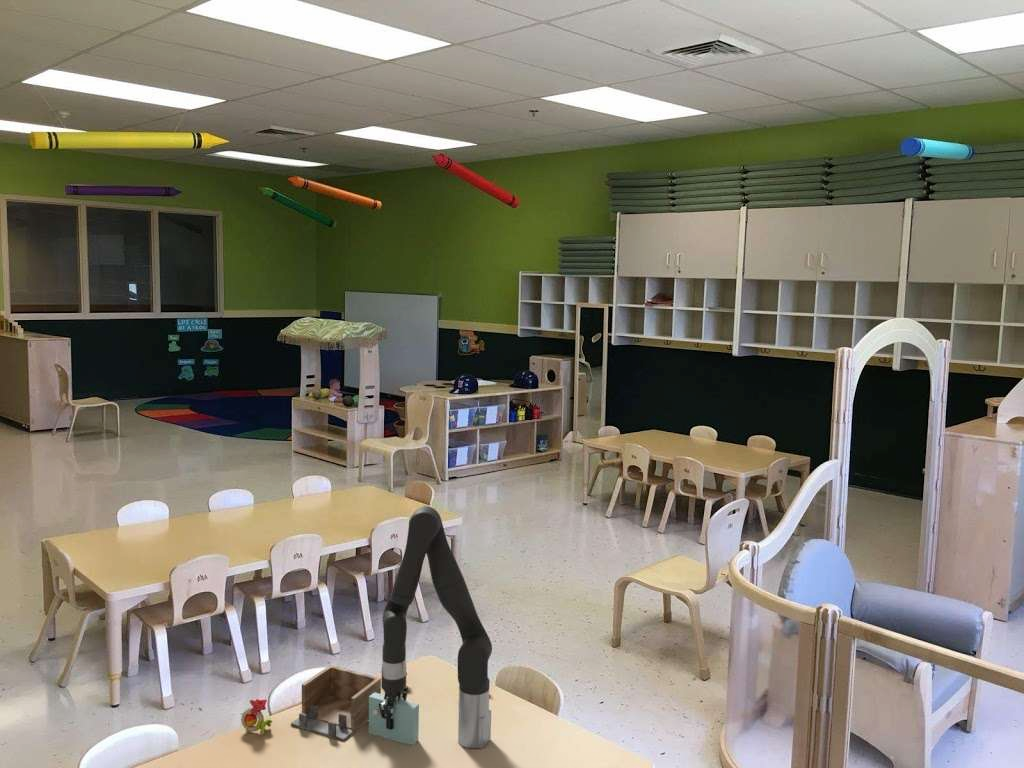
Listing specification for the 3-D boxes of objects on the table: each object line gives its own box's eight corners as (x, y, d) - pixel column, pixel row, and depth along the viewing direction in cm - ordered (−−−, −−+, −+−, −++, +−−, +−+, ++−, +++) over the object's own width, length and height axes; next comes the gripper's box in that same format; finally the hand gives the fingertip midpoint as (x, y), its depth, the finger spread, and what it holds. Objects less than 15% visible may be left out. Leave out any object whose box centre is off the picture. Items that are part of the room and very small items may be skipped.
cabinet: (380, 710, 280) (380, 678, 279) (343, 741, 261) (343, 706, 260) (329, 696, 288) (329, 665, 287) (290, 725, 270) (290, 692, 268)
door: (418, 740, 263) (418, 704, 262) (411, 747, 259) (411, 710, 258) (374, 728, 270) (374, 692, 268) (366, 734, 266) (366, 698, 264)
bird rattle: (244, 744, 262) (271, 734, 261) (230, 711, 261) (256, 702, 260) (252, 733, 269) (278, 723, 268) (237, 701, 268) (263, 692, 267)
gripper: (392, 685, 254) (391, 739, 257) (416, 665, 267) (415, 717, 269) (370, 680, 257) (370, 733, 260) (395, 660, 270) (395, 712, 272)
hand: (393, 725), depth 264 cm, fingers open, 3 cm apart
